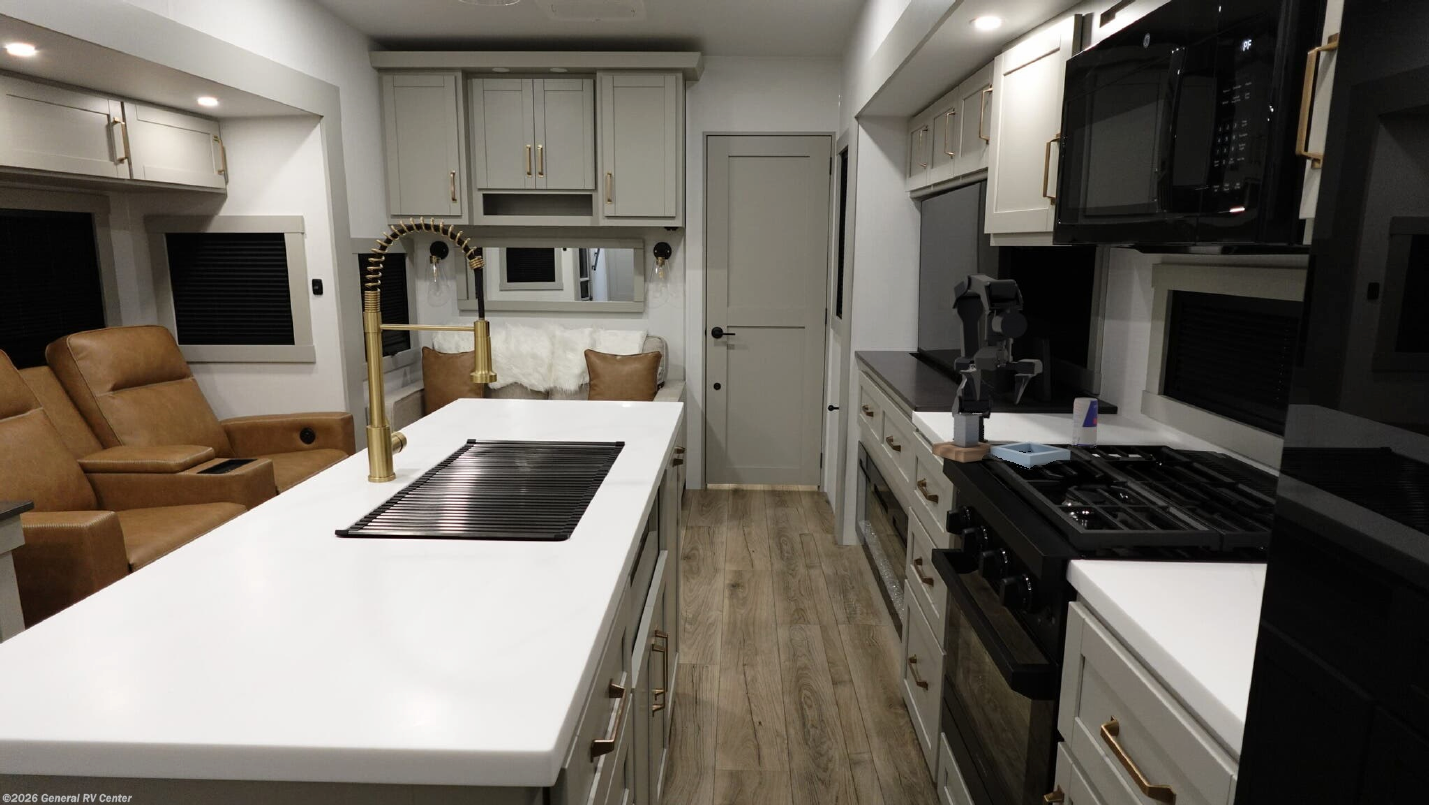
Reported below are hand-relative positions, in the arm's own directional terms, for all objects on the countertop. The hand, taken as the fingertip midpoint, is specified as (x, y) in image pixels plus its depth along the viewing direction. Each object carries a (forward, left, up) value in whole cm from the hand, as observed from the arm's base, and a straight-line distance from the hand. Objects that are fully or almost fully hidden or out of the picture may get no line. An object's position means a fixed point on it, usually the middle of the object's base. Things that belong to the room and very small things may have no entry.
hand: (996, 402), depth 184 cm
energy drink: (+2, +27, -13) cm, 30 cm away
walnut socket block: (-5, -4, -13) cm, 15 cm away
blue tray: (+7, +4, -13) cm, 15 cm away
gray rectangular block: (-5, -4, -13) cm, 15 cm away
